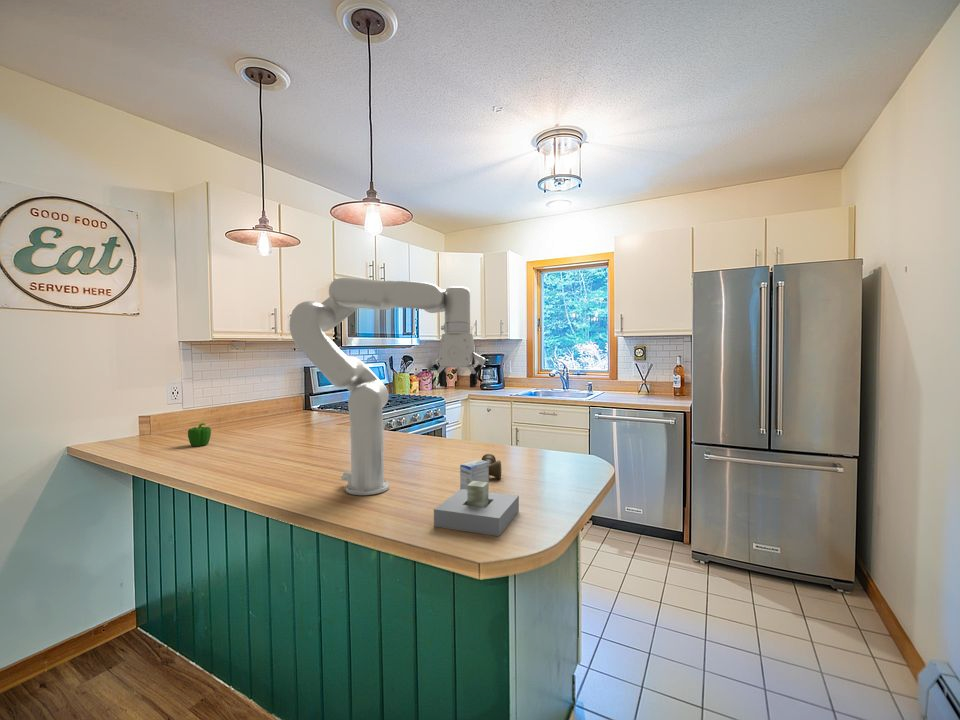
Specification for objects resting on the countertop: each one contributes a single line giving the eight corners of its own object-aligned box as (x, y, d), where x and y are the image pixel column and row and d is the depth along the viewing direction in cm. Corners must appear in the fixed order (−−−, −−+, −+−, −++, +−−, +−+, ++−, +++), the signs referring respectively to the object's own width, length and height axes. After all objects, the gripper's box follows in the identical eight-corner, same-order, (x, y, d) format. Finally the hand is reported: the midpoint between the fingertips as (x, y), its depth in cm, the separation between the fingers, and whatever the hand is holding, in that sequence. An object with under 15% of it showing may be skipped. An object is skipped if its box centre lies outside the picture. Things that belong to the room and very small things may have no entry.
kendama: (502, 468, 153) (501, 484, 133) (475, 469, 154) (469, 484, 134) (502, 451, 153) (500, 465, 133) (475, 452, 154) (469, 465, 134)
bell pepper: (183, 447, 188) (183, 424, 188) (200, 443, 196) (200, 421, 196) (197, 448, 186) (197, 425, 185) (215, 444, 193) (214, 422, 193)
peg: (467, 518, 105) (467, 485, 105) (473, 512, 109) (473, 480, 108) (483, 520, 103) (483, 487, 103) (488, 514, 107) (488, 482, 107)
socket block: (434, 526, 101) (433, 509, 101) (461, 503, 116) (460, 488, 116) (499, 536, 96) (499, 518, 96) (518, 511, 111) (518, 495, 111)
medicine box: (477, 487, 130) (477, 458, 130) (489, 490, 127) (489, 461, 127) (459, 494, 124) (459, 464, 124) (471, 497, 121) (471, 466, 121)
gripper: (425, 329, 128) (425, 387, 129) (480, 327, 122) (480, 388, 123) (436, 330, 135) (437, 385, 136) (489, 329, 129) (489, 386, 130)
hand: (457, 386), depth 129 cm, fingers open, 9 cm apart
